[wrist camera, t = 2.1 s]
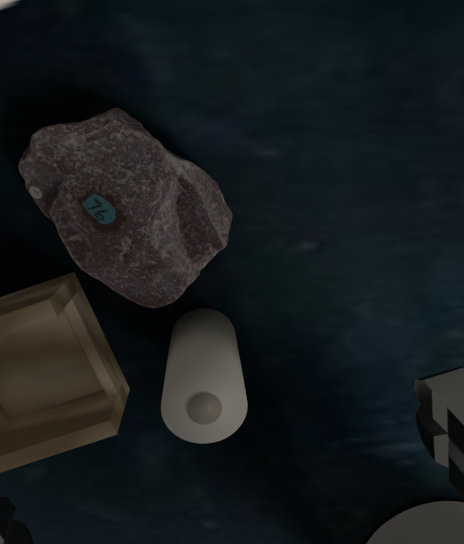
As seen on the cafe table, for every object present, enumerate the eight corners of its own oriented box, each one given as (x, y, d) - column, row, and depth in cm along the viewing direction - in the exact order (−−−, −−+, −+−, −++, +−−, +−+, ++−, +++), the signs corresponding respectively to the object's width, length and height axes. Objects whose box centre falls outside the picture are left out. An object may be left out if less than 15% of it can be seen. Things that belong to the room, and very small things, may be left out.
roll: (243, 354, 34) (258, 430, 25) (184, 374, 34) (178, 456, 26) (223, 299, 33) (232, 359, 24) (161, 320, 33) (147, 387, 24)
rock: (96, 71, 27) (73, 58, 22) (246, 206, 31) (255, 221, 26) (12, 182, 29) (-26, 193, 24) (163, 298, 33) (156, 329, 28)
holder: (129, 388, 34) (117, 434, 29) (13, 427, 35) (-21, 479, 29) (74, 271, 31) (48, 299, 26) (-54, 315, 31) (-105, 351, 26)
